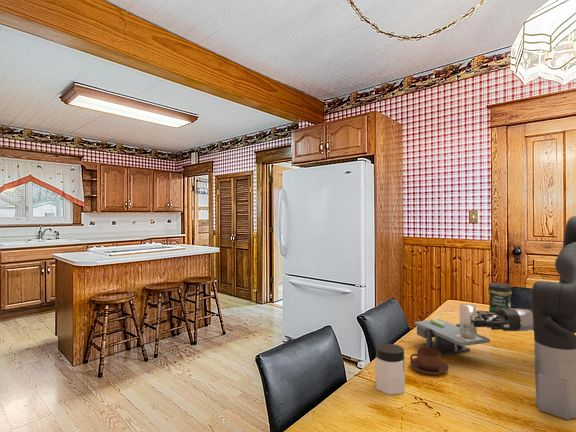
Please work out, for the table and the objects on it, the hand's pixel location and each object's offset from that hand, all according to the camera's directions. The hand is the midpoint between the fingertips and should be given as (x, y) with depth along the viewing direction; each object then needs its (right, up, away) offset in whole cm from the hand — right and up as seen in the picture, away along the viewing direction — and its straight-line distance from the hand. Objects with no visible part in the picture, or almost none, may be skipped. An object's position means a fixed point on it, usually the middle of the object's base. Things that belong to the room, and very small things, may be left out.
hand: (467, 319), depth 120 cm
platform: (-2, -12, +9) cm, 15 cm away
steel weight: (0, -6, 0) cm, 6 cm away
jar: (-33, -15, -18) cm, 40 cm away
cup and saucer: (-16, -15, -5) cm, 23 cm away
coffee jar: (+40, -15, +46) cm, 63 cm away
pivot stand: (-3, -15, +11) cm, 19 cm away
